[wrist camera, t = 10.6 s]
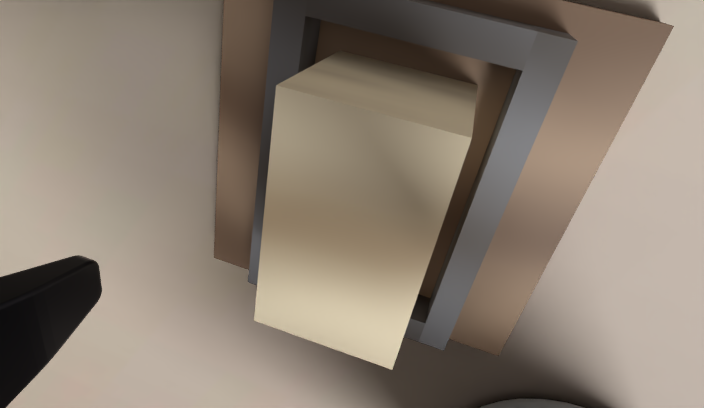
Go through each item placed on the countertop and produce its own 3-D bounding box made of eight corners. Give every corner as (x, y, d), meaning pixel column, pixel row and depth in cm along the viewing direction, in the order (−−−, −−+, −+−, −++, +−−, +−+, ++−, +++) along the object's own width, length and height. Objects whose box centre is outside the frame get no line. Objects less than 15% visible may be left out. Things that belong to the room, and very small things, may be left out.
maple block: (416, 272, 17) (392, 370, 13) (309, 237, 18) (253, 320, 14) (478, 85, 14) (471, 138, 9) (340, 50, 14) (276, 85, 10)
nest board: (242, -74, 14) (199, -81, 12) (661, 22, 13) (696, 33, 10) (225, 245, 21) (194, 277, 19) (498, 338, 19) (499, 385, 17)
